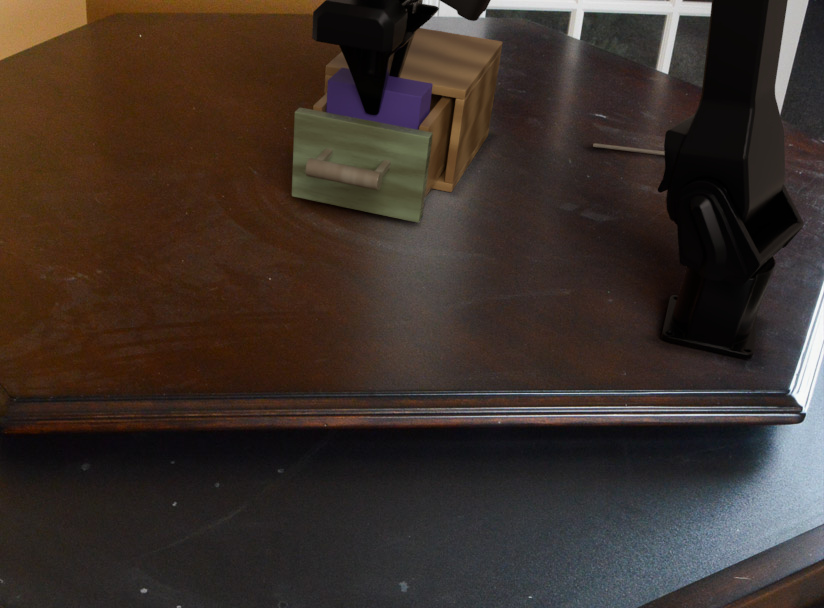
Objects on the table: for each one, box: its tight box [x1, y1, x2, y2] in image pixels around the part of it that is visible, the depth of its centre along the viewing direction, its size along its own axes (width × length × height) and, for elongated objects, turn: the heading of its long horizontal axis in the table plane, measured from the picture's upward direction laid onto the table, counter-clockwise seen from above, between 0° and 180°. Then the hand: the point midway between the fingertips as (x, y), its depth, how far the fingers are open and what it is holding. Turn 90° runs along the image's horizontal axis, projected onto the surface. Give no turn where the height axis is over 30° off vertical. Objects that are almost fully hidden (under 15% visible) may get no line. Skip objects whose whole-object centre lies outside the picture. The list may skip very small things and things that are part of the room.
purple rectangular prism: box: [326, 68, 433, 130], centre depth 87 cm, size 4×8×3 cm, turn 70°
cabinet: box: [323, 27, 504, 193], centre depth 98 cm, size 15×13×9 cm
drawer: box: [291, 93, 456, 223], centre depth 90 cm, size 18×11×7 cm, turn 160°
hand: (379, 106), depth 88 cm, fingers closed on purple rectangular prism, 3 cm apart
